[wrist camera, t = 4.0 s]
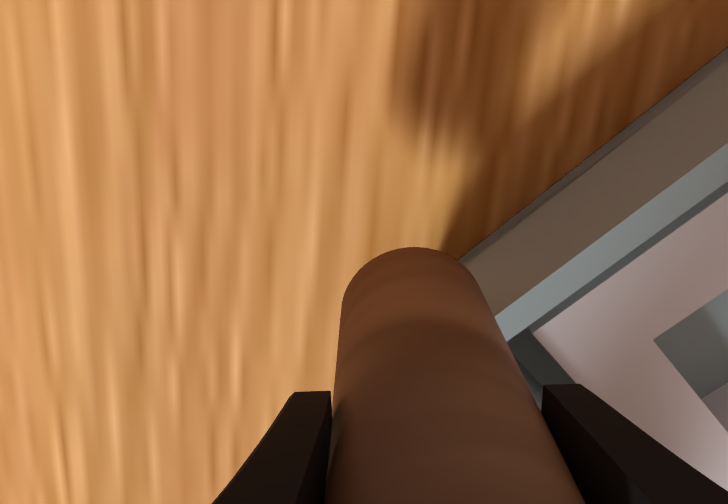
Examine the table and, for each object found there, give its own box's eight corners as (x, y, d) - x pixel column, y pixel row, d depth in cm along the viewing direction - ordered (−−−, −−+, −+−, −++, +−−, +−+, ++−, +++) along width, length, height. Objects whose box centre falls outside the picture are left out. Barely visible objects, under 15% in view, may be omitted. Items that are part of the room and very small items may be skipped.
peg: (405, 399, 15) (448, 769, 7) (311, 310, 14) (246, 624, 6) (512, 318, 14) (692, 639, 6) (420, 217, 13) (500, 451, 5)
